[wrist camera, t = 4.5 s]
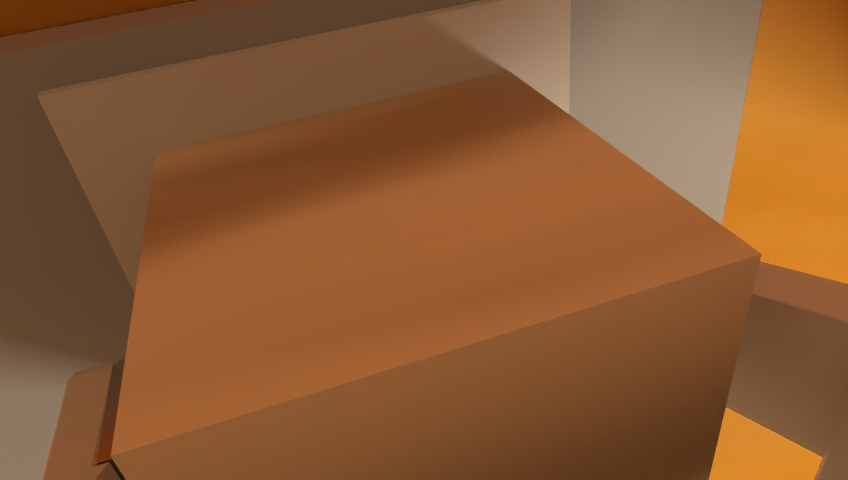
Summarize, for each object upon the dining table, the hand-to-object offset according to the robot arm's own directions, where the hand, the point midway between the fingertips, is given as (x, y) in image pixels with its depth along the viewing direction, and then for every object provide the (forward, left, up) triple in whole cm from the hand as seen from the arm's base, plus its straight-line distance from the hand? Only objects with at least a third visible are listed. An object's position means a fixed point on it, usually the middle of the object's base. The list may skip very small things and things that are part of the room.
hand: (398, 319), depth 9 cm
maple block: (0, 0, -2) cm, 2 cm away
